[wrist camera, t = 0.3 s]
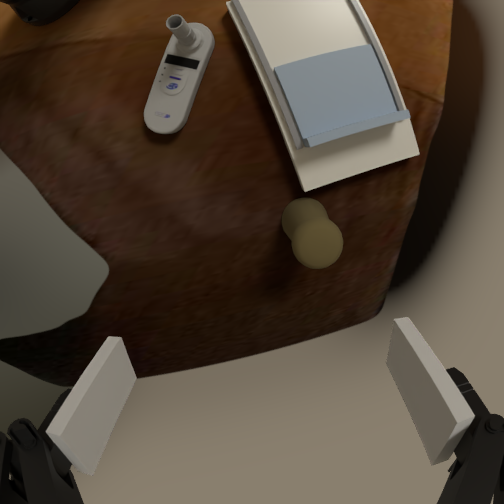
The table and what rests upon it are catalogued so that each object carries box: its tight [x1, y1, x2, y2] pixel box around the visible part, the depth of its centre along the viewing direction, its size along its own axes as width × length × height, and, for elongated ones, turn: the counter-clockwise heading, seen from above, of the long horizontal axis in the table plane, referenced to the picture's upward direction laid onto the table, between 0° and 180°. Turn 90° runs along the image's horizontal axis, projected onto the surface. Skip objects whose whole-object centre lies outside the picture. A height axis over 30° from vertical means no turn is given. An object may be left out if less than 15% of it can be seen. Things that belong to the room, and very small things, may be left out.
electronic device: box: [144, 15, 215, 134], centre depth 29 cm, size 5×10×15 cm
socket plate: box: [226, 0, 419, 192], centre depth 31 cm, size 26×16×3 cm, turn 21°
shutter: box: [274, 44, 411, 147], centre depth 29 cm, size 10×12×4 cm
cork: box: [282, 197, 343, 269], centre depth 34 cm, size 6×6×11 cm
